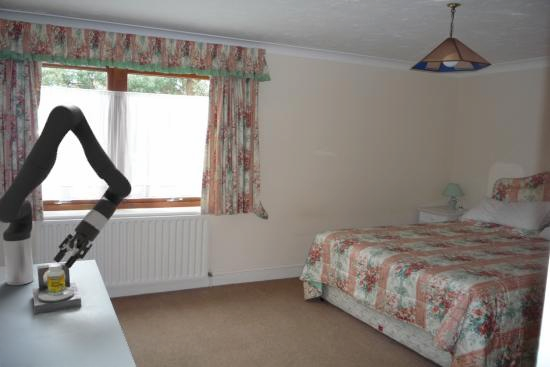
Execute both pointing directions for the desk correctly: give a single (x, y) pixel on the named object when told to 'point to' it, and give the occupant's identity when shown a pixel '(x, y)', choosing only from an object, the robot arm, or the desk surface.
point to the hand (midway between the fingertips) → (61, 264)
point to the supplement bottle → (56, 279)
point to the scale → (54, 302)
